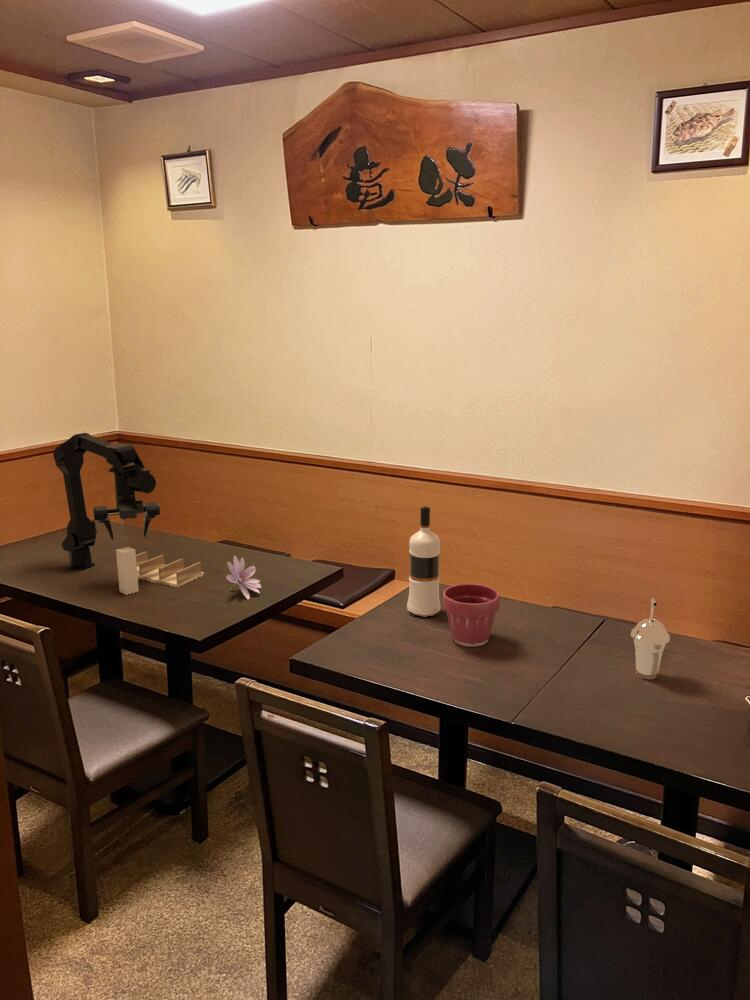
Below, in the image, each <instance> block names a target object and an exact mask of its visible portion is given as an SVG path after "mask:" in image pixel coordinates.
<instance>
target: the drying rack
mask: <svg viewBox="0 0 750 1000" xmlns="http://www.w3.org/2000/svg"><path fill="white" fill-rule="evenodd" d="M148 554H149V552H148V551H142V552H140V553H136V564H137V576H138V580H140V579H141V581H145V580H146V582H149V581H150V583H154V584H159V585H163V584H164V586H167V585H169V586H168V587H172V586H173V587H172V588H176V587H177V589H178V588H180V587H181V586H184V585H187V584H188V582H189V583H191V582H192V581H195V580H197V579H199V578H201V577H204V576H203V575H205V572H204V571H202V563H201V562H200V561H197V562H196V563H193V564H191V565H189V566H187V567H185V562H184V558H179V559H176V560H175V561H174V560H173V561H172V562H170V563H167V564H165V563H166V562H165V555H164V554H160V555H158V556H155V557H153V558H150V559H149V555H148ZM198 577H199V578H198ZM194 579H195V580H194ZM190 581H191V582H190ZM186 583H187V584H186Z"/></svg>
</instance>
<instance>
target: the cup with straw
mask: <svg viewBox="0 0 750 1000" xmlns="http://www.w3.org/2000/svg"><path fill="white" fill-rule="evenodd" d="M650 599H651V600H650V612H649V618H643V619H642V620H640V621H639V622H638V623H637V624H636V625H635V627H633V628H632V629H631V632H630V637H631V638H632V639H633V644H634V649H635V650H634V652H635V653H634V654H635V671H636V670H637V671H638V672H639V673H641V674H644V675H655V674H657V673H658V674H659V669H660V665H661V661H662V660H661V659H662V658H663V657H662V656H663V652H664V650H665V647H666V644H668V643H669V642H670V639H671V638H670V637H671V636H670V634H669V633H668V632H667V630H666V627H665V625H664V624H663V623H662V622H661V621H659V620H657V619H655V618H654V612H655V611H654V609H655V606H656V607H657V605H658V604H657V602H656V600H655V598H653V597H652V598H650ZM637 671H636V672H637ZM658 674H657V675H658Z"/></svg>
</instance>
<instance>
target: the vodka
mask: <svg viewBox="0 0 750 1000" xmlns="http://www.w3.org/2000/svg"><path fill="white" fill-rule="evenodd" d="M419 510H420V517H419V518H420V521H419V524H420V525H419V526H420V528H419V530H418V531H417V532H415V533H414V534H412V535H411V536H410V537H409V541H408V543H409V546H408V547H409V549H408V551H409V576H408V580H409V581H408V582H409V589H408V599H407V603H406V609H408V610H407V612H408V611H410V612H412V613H415V614H421V615H429V614H434V613H437V612H439V611H440V612H441V610H440V609H441V607H442V606H441V604H442V603H441V602H440V588H439V587H440V580H441V579H440V578H441V577H440V553H441V550H440V549H441V540H440V537H439V536H438V535H437V534H435V533H434V532H432V531H431V529H430V528H431V507H430V506H421V507H420V509H419ZM440 612H439V613H440Z"/></svg>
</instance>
